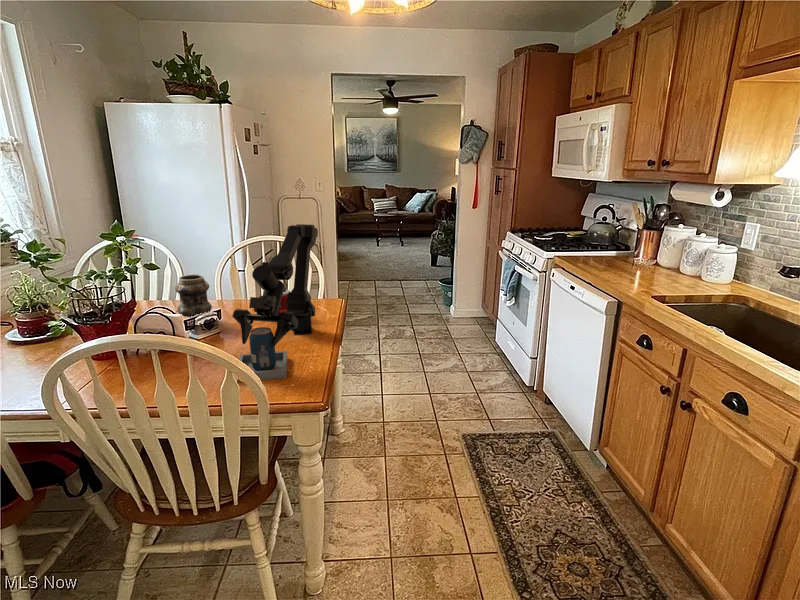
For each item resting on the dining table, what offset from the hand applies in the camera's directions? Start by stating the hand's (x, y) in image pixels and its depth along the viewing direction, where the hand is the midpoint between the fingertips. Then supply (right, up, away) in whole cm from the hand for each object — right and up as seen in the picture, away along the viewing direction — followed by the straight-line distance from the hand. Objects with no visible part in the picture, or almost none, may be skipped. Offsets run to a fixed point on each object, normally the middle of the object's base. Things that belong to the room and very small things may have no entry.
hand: (258, 345), depth 132 cm
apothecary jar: (-37, +4, +43) cm, 57 cm away
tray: (0, -8, +4) cm, 9 cm away
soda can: (+1, -7, +4) cm, 8 cm away
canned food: (-5, +6, +48) cm, 48 cm away
